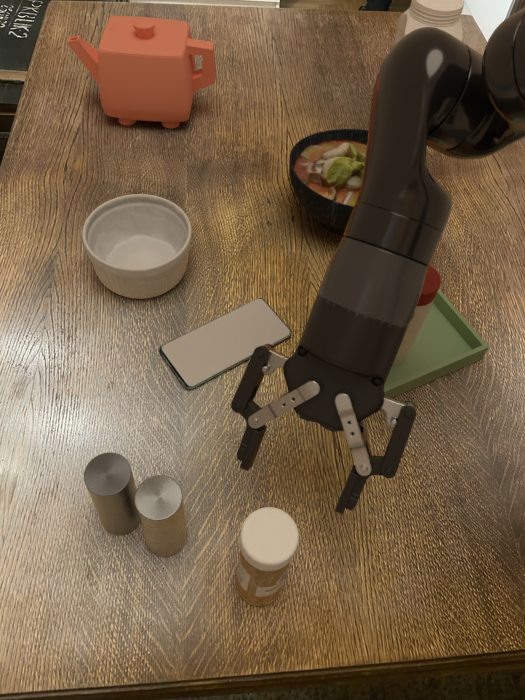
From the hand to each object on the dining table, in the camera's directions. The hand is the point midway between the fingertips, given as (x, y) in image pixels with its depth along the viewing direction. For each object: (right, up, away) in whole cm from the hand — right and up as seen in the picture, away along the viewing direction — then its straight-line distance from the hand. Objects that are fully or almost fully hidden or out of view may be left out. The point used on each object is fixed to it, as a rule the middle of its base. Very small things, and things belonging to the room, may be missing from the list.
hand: (292, 488), depth 50 cm
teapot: (-21, +51, +49) cm, 74 cm away
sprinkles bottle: (-3, -10, +7) cm, 13 cm away
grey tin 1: (-16, -5, +9) cm, 19 cm away
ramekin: (-18, +22, +29) cm, 40 cm away
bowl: (+9, +31, +37) cm, 50 cm away
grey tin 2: (-12, -7, +8) cm, 16 cm away
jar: (+25, +59, +58) cm, 87 cm away
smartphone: (-7, +12, +22) cm, 26 cm away
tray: (+14, +12, +23) cm, 30 cm away
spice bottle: (+13, +12, +23) cm, 29 cm away
